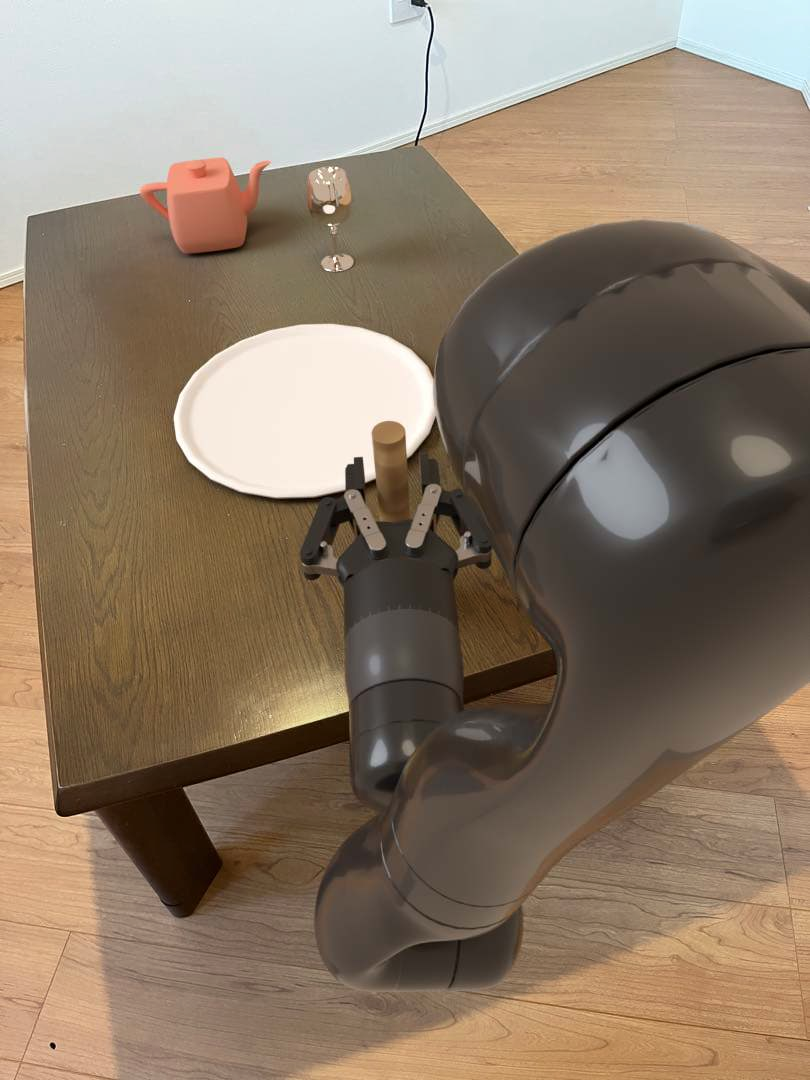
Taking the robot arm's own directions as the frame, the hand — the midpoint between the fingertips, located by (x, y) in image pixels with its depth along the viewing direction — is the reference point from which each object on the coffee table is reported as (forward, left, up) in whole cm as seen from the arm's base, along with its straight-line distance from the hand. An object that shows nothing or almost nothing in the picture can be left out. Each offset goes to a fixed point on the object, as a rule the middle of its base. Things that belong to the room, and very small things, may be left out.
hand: (391, 463), depth 65 cm
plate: (+17, -20, -15) cm, 31 cm away
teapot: (+43, -52, -15) cm, 70 cm away
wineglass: (+24, -49, -15) cm, 57 cm away
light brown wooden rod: (-1, +3, -15) cm, 15 cm away
